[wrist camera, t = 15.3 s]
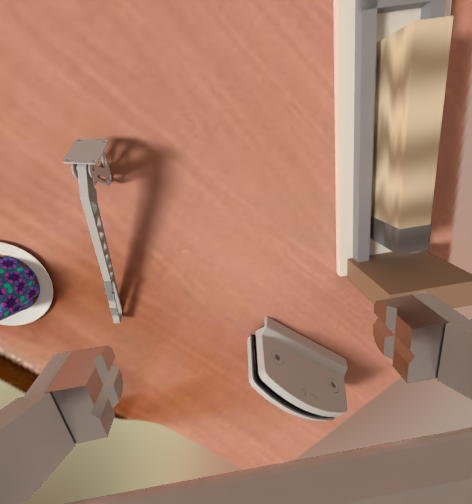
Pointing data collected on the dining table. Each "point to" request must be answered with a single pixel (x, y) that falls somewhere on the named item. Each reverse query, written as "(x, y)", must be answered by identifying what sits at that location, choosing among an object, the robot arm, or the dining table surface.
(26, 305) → the pudding
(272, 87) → the dining table surface
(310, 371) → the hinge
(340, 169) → the slot board
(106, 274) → the bracket
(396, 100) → the wooden block
